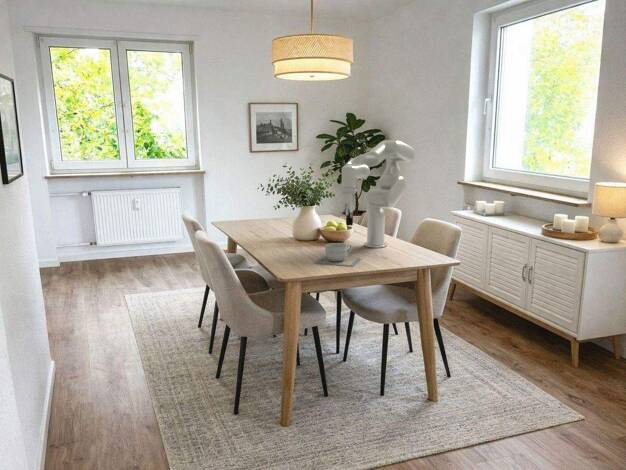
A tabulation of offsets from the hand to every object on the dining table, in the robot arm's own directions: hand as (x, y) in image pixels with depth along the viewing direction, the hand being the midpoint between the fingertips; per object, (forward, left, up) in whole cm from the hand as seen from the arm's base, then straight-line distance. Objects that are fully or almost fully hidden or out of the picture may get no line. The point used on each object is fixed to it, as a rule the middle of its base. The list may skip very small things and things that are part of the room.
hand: (349, 225), depth 271 cm
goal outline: (+19, 0, -15) cm, 24 cm away
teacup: (+17, 0, -15) cm, 23 cm away
